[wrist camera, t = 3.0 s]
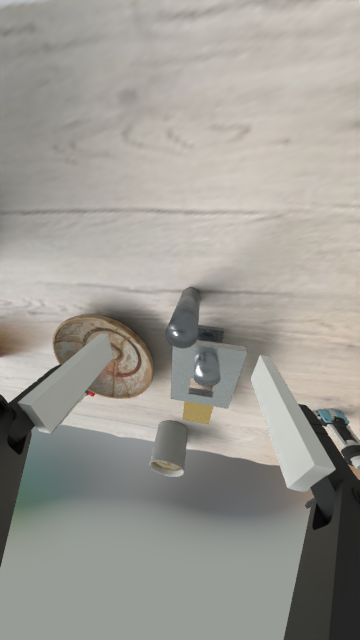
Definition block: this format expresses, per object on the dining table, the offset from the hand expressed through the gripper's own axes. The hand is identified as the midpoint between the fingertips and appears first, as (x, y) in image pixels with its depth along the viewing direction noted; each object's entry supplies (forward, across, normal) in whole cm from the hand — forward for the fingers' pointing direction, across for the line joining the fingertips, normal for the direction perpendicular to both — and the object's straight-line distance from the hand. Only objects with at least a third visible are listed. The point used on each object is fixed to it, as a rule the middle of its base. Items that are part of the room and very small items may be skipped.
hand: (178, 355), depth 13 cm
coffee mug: (+16, -2, -49) cm, 52 cm away
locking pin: (+16, 0, 0) cm, 16 cm away
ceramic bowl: (+16, -18, -16) cm, 29 cm away
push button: (+17, +35, -26) cm, 46 cm away
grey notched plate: (+16, +4, -17) cm, 24 cm away
